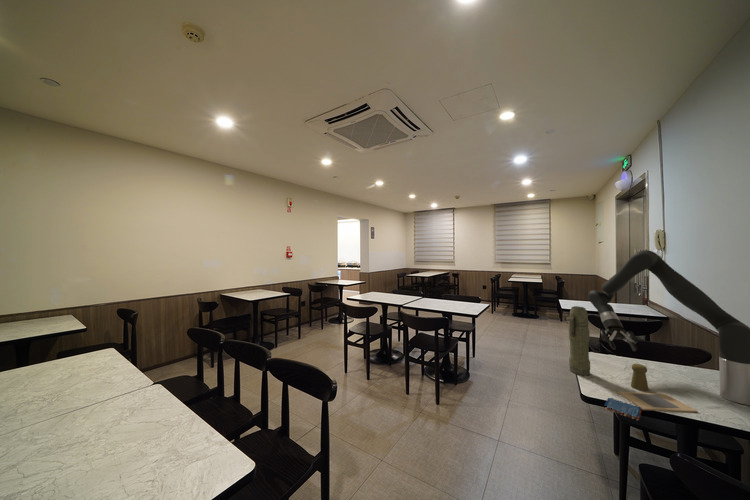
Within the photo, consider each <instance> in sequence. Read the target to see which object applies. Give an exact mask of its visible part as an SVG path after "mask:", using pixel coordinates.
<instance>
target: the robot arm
mask: <svg viewBox="0 0 750 500" xmlns="http://www.w3.org/2000/svg"><path fill="white" fill-rule="evenodd" d="M645 270H648V271H649V272H651V273H652V274H653V276H655V277H656V278H657V279H658V280H659V281H660V283H661V284H662V286H663V287H664V289H665V290H666V291H667V293H669V294H670V296H672V297H673V298H674V299H675V300H677V301H678V302H679V303H681V304H682V305H683V306H685V307H686V308H687V309H689V310H690V311H692V312H694V313H695V314H698V315H699V316H700V317H702V318H704V320H705V321H707V322H708V323H709V324H710V325H711V326H712V327H713V328H714V329H715V330H716V331H717V332H718V362H719V363H718V364H719V366H718V367H719V369H718V370H719V395H720V397H722V398H723V399H725V400H728V401H730V402H733V403H734V402H735V403H738V404H740V405H741V404H742V405H747V406H750V326H748V325H746V324H745V323H743V322H742V321H741V320H739V319H737V318H735V317H734V316H733V315H732V314H730V313H728V312H727V311H725V310H724V309H723V308H722V307H720V305H718V304H717V303H716V301H714V300H713V299H712V298H711V297H710V296H709V295H707V294H706V292H704V291H703V290H702V289H700V288H699V287H698V286H697V285H695V284H694V283H693V282H691V281H689V280H688V279H687V278H686V277H684V276H683V275H682V274H680V273H679V271H678V272H677V271H676V270H675V269H674V268H673V267H671V266H670V265H669V264H668V263H667V261H665V260H664V259H663V258H662V257H660V255H659V254H657V253H656V252H655V251H652V250H647V249H646V250H645V249H644V250H640V251H638V252H636V253H633V254H632V255H631V256H630V257H629V259H628V260H627V261H626V263H625V264H624V266H622V268H620V269H619V271H617V272H616V273H615V274H614V275H612V276H611V277H610V278H609V279H608V280H607V281H606V282H604V283H603V284H602V286H601V289H602V291H599V290H595V289H593V290H590V291H589V292H588V295H587V297H588V300H589V302H590V303H591V304H592V305H593V307H594V308H595V309H596V310H597V313H598V314H599V317H600V320H601V323H602V324H603V327H604V328H605V329H604V328H603V329H601V330H600V336H601V339H602V340H603V342H606V343H608V345H609V346H610V348H611V349H612V350H614V351H615V350H616V349H617V346H616V345H615V342H614V340H621V341H624V342H626V343H628V344H629V346H630V348H631V351H632V352H636V351H637V350H638V346H637V345H636V344H637V343H638V342H639V339H638V338H637V336H636V335H635V333H634V331H633V330H630V331H626V330H625V329H624V326H623V324H622V322H621V320H620V319H619V317H618V315H617V314H616V311H615V310H614V308H613V305H611V304H610V303H611V301H612V300H613V299H614V297H615V295H616V294H617V293H618V292H619V291H620V290H622V289H623V288H624V287H625V286H626V285H627V284H628V283H629V282H630V281H631V280H632V279H633V278H634V277H635V276H636V275H638V274H640V273H642V272H643V271H645ZM608 335H609V338H608Z"/></svg>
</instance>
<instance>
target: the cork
mask: <svg viewBox="0 0 750 500" xmlns="http://www.w3.org/2000/svg"><path fill="white" fill-rule="evenodd" d="M631 369H632V377H631V381H630V387H631V388H632V389H634V390H637V391H640V392H649V390H650V389H649V384H648V378H647V373H648V368H647V367H646V365H643V364H640V363H632V365H631Z"/></svg>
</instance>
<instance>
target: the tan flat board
mask: <svg viewBox="0 0 750 500" xmlns="http://www.w3.org/2000/svg"><path fill="white" fill-rule="evenodd" d="M616 393H617V394H618V395H619V396H621V397H622V398H624V399H625V400H627V401H629V403H630V402H631V404H632V405H634V406H637V407H641V408H640V409H642V410H641V411H653V410H655V412H656V410H658V412H675V413H676V412H677V413H699V411H698V410H697V409H695V408H693V407H691V406H689V404H688V405H687V404H685V403H684V402H682V401H681V400H678V399H676V398H675V397H672V396H671V395H668V394H667V393H662V392H661V393H660V392H659V393H658V392H637V391H634V392H633V391H616Z"/></svg>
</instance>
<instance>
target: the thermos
mask: <svg viewBox="0 0 750 500" xmlns="http://www.w3.org/2000/svg"><path fill="white" fill-rule="evenodd" d="M590 334H591V333H590V330H589V316H588V311H587V309H586V308H585V307H583V306H577V305H575V306H571V308H570V311H569V327H568V339H569V357H568V364H569V365H568V366H569V372H570V373H572V374H575V375H577V376H583V377H589V376H590V375H591V373H590V372H591V361H590V353H589V352H590V351H589V347H590V345H589V342H590V339H591V338H590ZM575 371H576V372H575Z"/></svg>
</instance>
